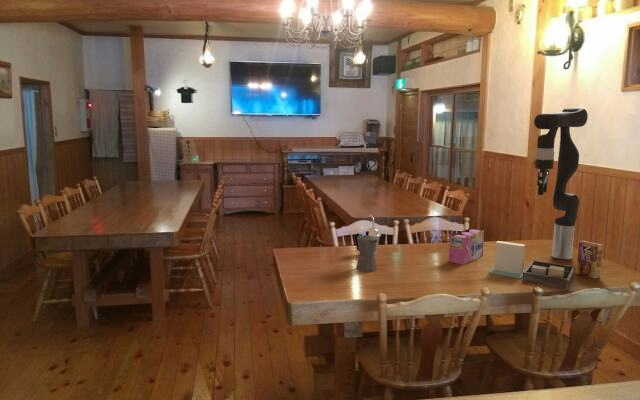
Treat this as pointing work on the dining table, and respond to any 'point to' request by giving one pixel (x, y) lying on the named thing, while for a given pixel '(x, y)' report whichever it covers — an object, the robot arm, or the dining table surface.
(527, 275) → the tray
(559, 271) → the birch offcut
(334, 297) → the dining table surface
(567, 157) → the robot arm
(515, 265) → the white square slab
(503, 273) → the teal mat
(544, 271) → the grey mdf offcut
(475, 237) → the pink multipack
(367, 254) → the coffeepot
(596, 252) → the candy box
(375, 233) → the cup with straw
